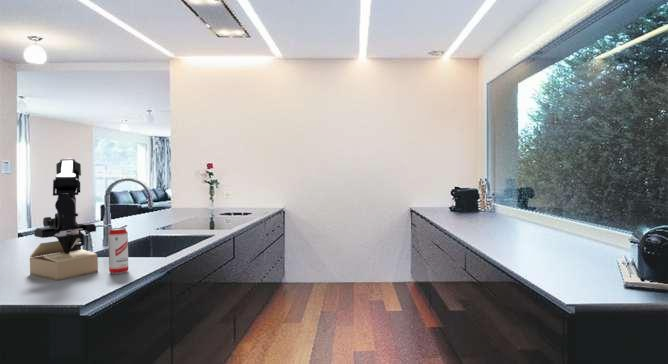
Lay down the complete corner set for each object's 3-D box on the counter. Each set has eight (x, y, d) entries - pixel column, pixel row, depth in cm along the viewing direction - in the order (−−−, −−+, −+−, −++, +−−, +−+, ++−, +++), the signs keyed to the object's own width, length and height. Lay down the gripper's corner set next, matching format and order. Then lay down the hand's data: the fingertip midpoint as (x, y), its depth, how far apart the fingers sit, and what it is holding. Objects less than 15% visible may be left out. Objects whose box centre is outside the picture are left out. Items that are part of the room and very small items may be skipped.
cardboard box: (70, 266, 168) (69, 251, 168) (97, 271, 159) (97, 255, 159) (30, 274, 156) (29, 257, 156) (57, 280, 147) (57, 262, 147)
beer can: (132, 271, 159) (131, 228, 159) (117, 275, 153) (116, 230, 153) (120, 269, 162) (119, 227, 161) (105, 273, 156) (104, 229, 156)
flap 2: (82, 250, 163) (82, 249, 163) (96, 255, 159) (96, 253, 159) (43, 257, 151) (43, 255, 151) (57, 262, 147) (57, 260, 147)
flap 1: (69, 251, 168) (68, 249, 168) (79, 239, 164) (79, 238, 164) (30, 257, 156) (29, 256, 156) (40, 244, 152) (40, 243, 152)
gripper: (80, 207, 168) (80, 247, 168) (26, 211, 152) (26, 255, 152) (97, 209, 162) (97, 250, 163) (43, 213, 146) (43, 259, 147)
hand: (66, 253), depth 156 cm, fingers closed, pressing on flap 2
